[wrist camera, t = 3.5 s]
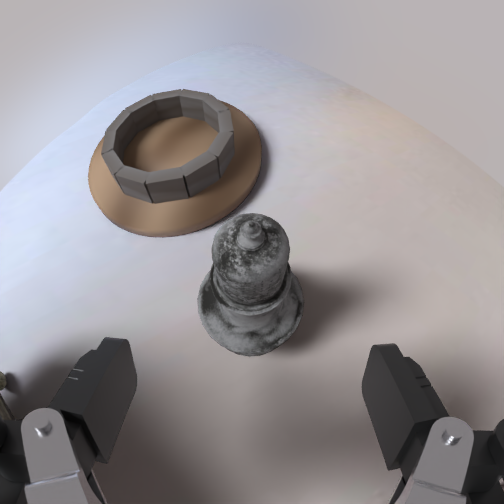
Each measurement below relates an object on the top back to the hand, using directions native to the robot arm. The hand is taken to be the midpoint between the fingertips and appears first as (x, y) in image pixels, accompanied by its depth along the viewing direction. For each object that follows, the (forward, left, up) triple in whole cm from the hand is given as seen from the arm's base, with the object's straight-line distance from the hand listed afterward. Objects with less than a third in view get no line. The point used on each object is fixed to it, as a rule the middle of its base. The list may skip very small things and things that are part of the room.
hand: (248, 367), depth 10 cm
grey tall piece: (+1, -4, -10) cm, 11 cm away
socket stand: (+12, -14, -10) cm, 21 cm away
